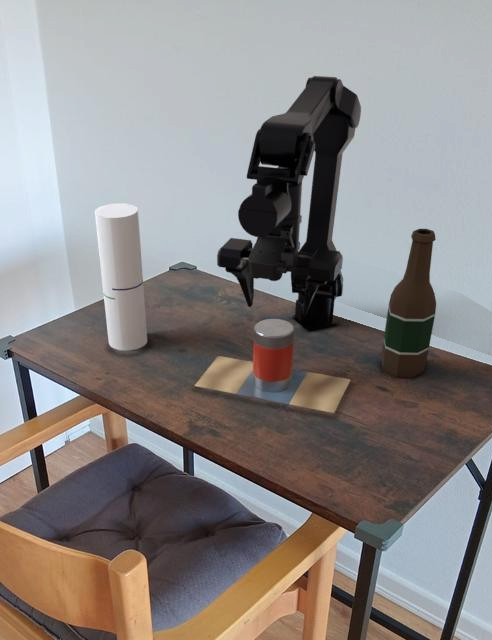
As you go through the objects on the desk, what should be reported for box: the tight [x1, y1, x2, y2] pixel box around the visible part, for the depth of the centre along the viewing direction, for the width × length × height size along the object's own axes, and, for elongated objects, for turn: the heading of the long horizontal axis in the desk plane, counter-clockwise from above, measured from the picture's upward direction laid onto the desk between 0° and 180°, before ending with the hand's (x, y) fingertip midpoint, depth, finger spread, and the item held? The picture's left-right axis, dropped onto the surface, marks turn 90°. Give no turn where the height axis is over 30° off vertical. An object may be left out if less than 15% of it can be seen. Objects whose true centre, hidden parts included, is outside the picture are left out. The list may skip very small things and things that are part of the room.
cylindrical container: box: [94, 202, 148, 352], centre depth 132 cm, size 7×7×25 cm
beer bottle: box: [380, 228, 437, 379], centre depth 124 cm, size 8×8×24 cm
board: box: [194, 355, 352, 414], centre depth 126 cm, size 24×11×1 cm, turn 68°
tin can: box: [252, 318, 295, 392], centre depth 123 cm, size 6×6×10 cm
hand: (277, 310), depth 121 cm, fingers open, 9 cm apart
